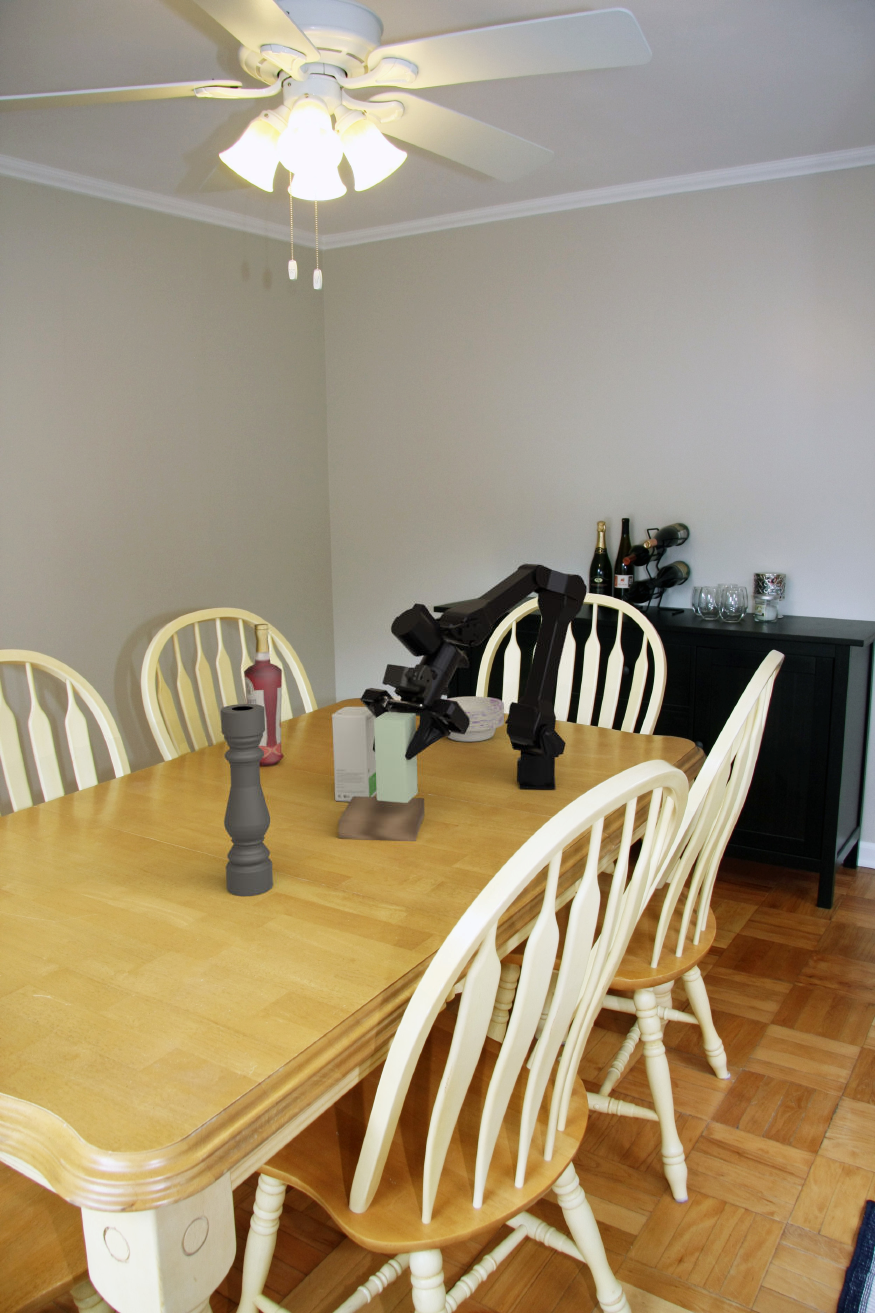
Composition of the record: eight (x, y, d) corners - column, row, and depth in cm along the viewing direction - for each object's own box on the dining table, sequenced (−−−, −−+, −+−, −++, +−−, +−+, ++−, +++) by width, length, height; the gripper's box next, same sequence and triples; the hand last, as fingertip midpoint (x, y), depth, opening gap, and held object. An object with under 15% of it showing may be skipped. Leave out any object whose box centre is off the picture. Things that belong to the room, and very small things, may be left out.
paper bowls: (431, 730, 217) (431, 696, 215) (497, 728, 218) (497, 694, 217) (438, 747, 202) (438, 711, 201) (509, 745, 203) (509, 708, 202)
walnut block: (424, 815, 159) (424, 798, 158) (415, 841, 147) (415, 822, 147) (353, 813, 160) (353, 796, 160) (338, 838, 148) (338, 820, 148)
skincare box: (368, 804, 165) (366, 716, 162) (331, 801, 166) (329, 714, 164) (380, 789, 173) (379, 705, 171) (346, 787, 174) (343, 704, 172)
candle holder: (251, 900, 126) (243, 715, 122) (217, 890, 129) (208, 710, 125) (282, 883, 131) (275, 706, 127) (248, 874, 134) (241, 701, 130)
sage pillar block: (417, 793, 152) (415, 713, 150) (406, 802, 147) (404, 721, 145) (388, 790, 153) (385, 712, 151) (376, 800, 149) (374, 719, 147)
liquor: (291, 764, 190) (286, 625, 185) (257, 770, 186) (251, 628, 181) (275, 756, 196) (270, 621, 191) (242, 762, 192) (236, 624, 187)
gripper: (366, 639, 155) (320, 718, 148) (458, 649, 144) (412, 736, 137) (398, 678, 162) (356, 756, 156) (488, 691, 151) (446, 775, 144)
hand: (390, 755), depth 148 cm, fingers closed on sage pillar block, 6 cm apart
